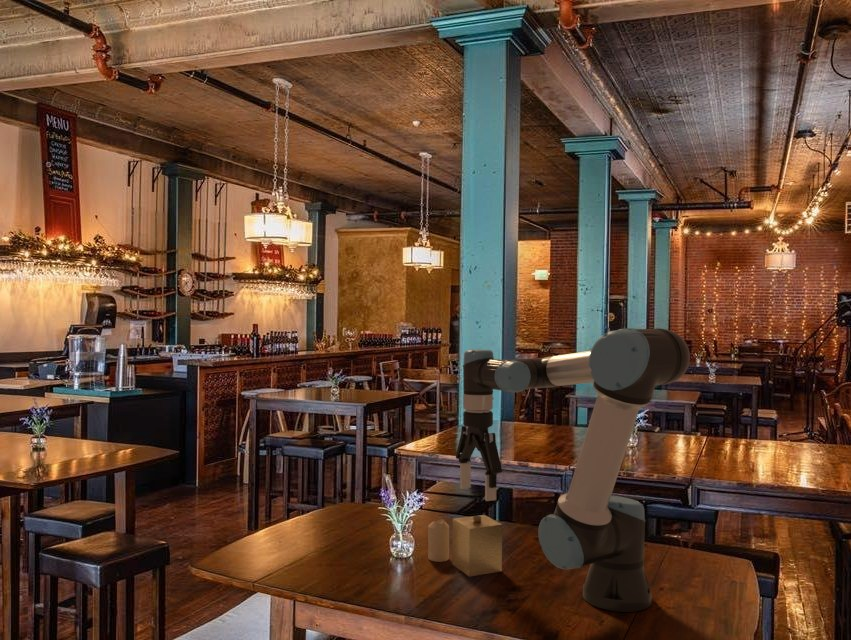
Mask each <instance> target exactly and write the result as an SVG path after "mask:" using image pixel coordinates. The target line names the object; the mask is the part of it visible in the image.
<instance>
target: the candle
mask: <svg viewBox="0 0 851 640" xmlns="http://www.w3.org/2000/svg"><path fill="white" fill-rule="evenodd" d="M427 527H428V530H427V532H428V533H427V535H428V536H427V538H428V539H427V541H428V542H427V545H428V547H427V557H428V560H429V561H431V562H437V563H439V562H440V563H442V562H443V563H444V562H446V561H448V560H450V525H449V524H448V523H447V522H446V521H445V520H444V519H442V518H441V519H438V520H435V521H434V520H433V521H432V522H431V523H429V524H428V526H427Z"/></svg>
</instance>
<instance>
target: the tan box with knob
mask: <svg viewBox="0 0 851 640" xmlns="http://www.w3.org/2000/svg"><path fill="white" fill-rule="evenodd" d="M451 561H452V564H451V565H452V566H454V567H455V568H456V569H458V570H459V571H461V572H462V573H463V574H465V575H466V576H467V577H469V578H470V577H475V576H476V577H477V576H482V575H486V574H487V575H489V574H494V573H499V572H502V571H503V569H502V568H503V566H502V565H503V564H502V563H503V523H500V522H499V521H497V520H495V519H493V518H491V517H489V516H487V515H486V514H482V515H481V514H480V515H479V514H478V515H473V516H464V517H457V518H452V560H451Z"/></svg>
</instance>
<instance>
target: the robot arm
mask: <svg viewBox="0 0 851 640" xmlns="http://www.w3.org/2000/svg"><path fill="white" fill-rule="evenodd" d="M690 361H691V353H690V350H689V346H688V345H687V342H686V340H685V339H684V338H683V337H682V336H681V335H680V334H678V333H676V332H674V331H673V330H669V329H667V328H666V329H665V328H620V329H617V330H614V329H613V330H610V331H607V332H606V333H603V335H602V334H601V336H600V337H599V338H598V339H597V340H596V341H595V342H594V344H593V346H592V347H591V349H590V350H586V351H579V352H574V353H573V352H571V353H567V354H560V355H554V356H553V355H552V356H545V357H537V358H516V359H498V358H494V352H493V351H492V350H490V349H479V348H478V349H468V350H465V351H464V354H463V364H462V367H463V368H462V369H463V371H462V372H463V388H462V389H463V390H462V391H463V393H462V401H463V402H462V408H463V410H464V411H463V412H462V413H463V414H462V419H463V420H462V424H463V425H462V426H461V429H460V430H461V431H460V437H459V440H458V445H457V449H456V453H455V459H456V460H458V462H459V467H460V468H459V471H460V473H459V488H460V489H461V490H463V489H470V488H471V486H472V485H471V479H472V477H471V476H472V474H471V472H472V471H471V468H472V466H471V465H472V464H471V462H472V459H471V458H472V455H473V453H474V451H475V449H477V451H478V452H479V453H480V455H481V459H482V462H483V464H484V468H485V470H486V471H485V473H484V475H485V476H484V477H485V478H484V481H485V482H484V484H485V485H484V492H485V493H484V501H486V502H490V501H491V502H492V501H497V482H498V481H497V476H498V474H500V473H501V474H502V472H503V468H502V464H501V460H500V456H499V451H498V446H497V442H496V441H497V439H496V433H495V432H490V433H489V428H491V427H493V424H494V422H493V421H494V412H493V411H492V410H493V407H494V405H493V404H494V403H493V401H494V397H493V396H494V390H496V391H501V392H502V391H503V392H506V393H521V392H523V391H524V390H530V389H531V390H532V389H545V388H547V389H549V388H556V387H560V386H561V387H563V386H571V385H572V386H573V385H580V384H582V385H583V384H591V383H593V385H592V386H593V387H592V388H593V389H594V391H595V392H596V393H597V396H596V400H595V403H594V405H593V406H594V407H593V409H592V413H591V416H590V419H589V422H588V426H587V430H586V433H585V436H584V438H583V439H584V440H583V443H582V446H581V450H580V453H579V456H578V459H577V462H576V466H575V469H574V472H573V476H572V478H571V482H570V485H569V488H568V490H567V491H568V492H565V493H563V494H561V495H560V496H559V497H558V500H557V503H556V505H555V506H556V507H555V510H554V512H553V514H552V513H550V514H548V515H545V517H543V518H542V519H541V520H540V523H539V525H538V529H537V530H538V531H537V533H538V535H537V536H538V542H539V545H540V546H541V550H542V552H543V554H544V556H545V557H546V558H547V560H548V561H549V562H550V563H551V564H552V565H553V566H554V567H556V568H558V569H561V570H572V569H580V568H582V567H585V566H589V568H588V572H587V575H586V577H585V581H584V583H583V585H582V597H583V599H584V601H585V602H587V603H588V604H590V606H591V605H592V606H593V607H595V608H598V609H603V610H606V611H610V612H611V611H612V612H616V613H617V612H621V613H634V612H640V611H644V610H646V609H648V608H650V606H651V605H652V590H651V588H650V584H649V580H648V577H647V574H646V570H645V526H646V525H645V524H646V519H645V518H646V517H645V508H644V507H645V506H644V505H643V504H642V503H641V502H639V501H638V500H636V499H632V498H628V497H625V496H624V497H623V496H619V495H612V494H613V492H614V487H615V485H616V482H617V478H618V477H619V473H620V469H621V467H622V463H623V461H624V458H625V454H626V451H627V448H628V444H629V442H630V439H631V436H632V432H633V429H634V427H635V424H636V420H637V417H638V414H639V412H640V408H643V407H646V406H648V405H649V404H650V402H651V400H652V396H653V394H654V391H655V388H656V387H657V386H664V385H669V384H673V383H675V382H676V381H678V380H679V379H680V378H682V377H684V375H685V374H686V372H687V370H688V368H689V366H690Z"/></svg>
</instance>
